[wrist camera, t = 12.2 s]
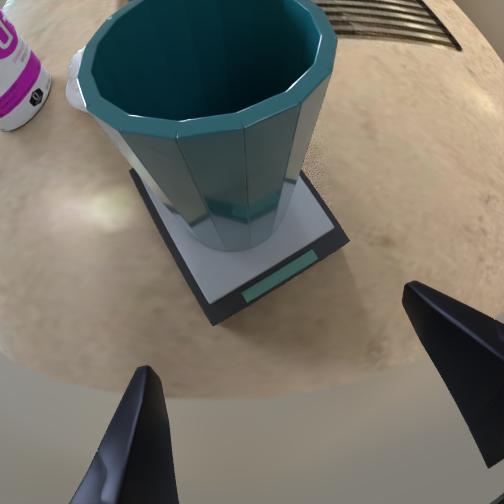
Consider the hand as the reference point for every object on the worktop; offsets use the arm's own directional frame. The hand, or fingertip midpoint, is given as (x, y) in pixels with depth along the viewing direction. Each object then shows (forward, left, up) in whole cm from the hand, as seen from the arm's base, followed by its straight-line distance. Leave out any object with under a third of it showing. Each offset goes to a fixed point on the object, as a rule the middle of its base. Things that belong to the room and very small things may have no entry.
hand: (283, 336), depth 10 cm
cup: (+8, -2, -8) cm, 11 cm away
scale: (+8, -2, -11) cm, 13 cm away
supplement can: (+32, +11, -11) cm, 35 cm away
